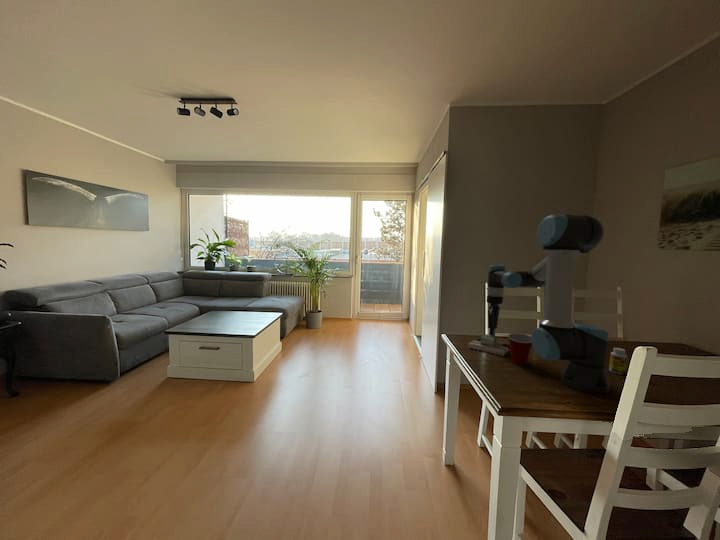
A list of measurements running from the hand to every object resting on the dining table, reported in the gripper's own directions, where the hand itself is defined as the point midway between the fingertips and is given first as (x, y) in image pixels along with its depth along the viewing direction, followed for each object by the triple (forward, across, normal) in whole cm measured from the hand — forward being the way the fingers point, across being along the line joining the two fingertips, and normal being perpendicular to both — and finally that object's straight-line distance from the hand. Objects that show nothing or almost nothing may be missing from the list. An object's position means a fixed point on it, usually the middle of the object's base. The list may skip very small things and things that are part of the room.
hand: (491, 340), depth 166 cm
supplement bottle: (+4, -4, +51) cm, 51 cm away
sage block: (+1, +4, 0) cm, 4 cm away
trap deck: (+4, 0, 0) cm, 4 cm away
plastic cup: (+4, +14, +16) cm, 21 cm away
